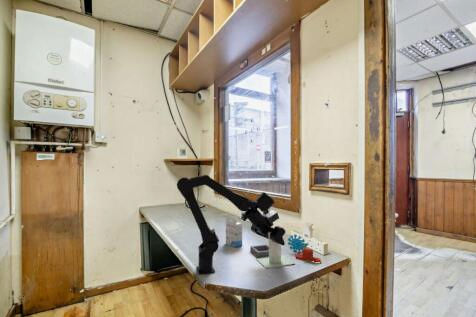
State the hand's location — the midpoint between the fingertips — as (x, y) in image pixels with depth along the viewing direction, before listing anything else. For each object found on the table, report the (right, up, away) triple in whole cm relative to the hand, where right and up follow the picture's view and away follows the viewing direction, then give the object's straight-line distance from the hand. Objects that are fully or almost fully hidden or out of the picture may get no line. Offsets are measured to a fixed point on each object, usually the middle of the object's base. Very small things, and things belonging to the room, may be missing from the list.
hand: (277, 241), depth 105 cm
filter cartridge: (-1, -8, -1) cm, 8 cm away
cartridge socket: (-6, -9, +9) cm, 14 cm away
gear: (+12, -9, +12) cm, 20 cm away
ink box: (-20, -10, +22) cm, 31 cm away
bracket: (+14, -9, +2) cm, 17 cm away
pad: (-1, -9, -1) cm, 9 cm away
